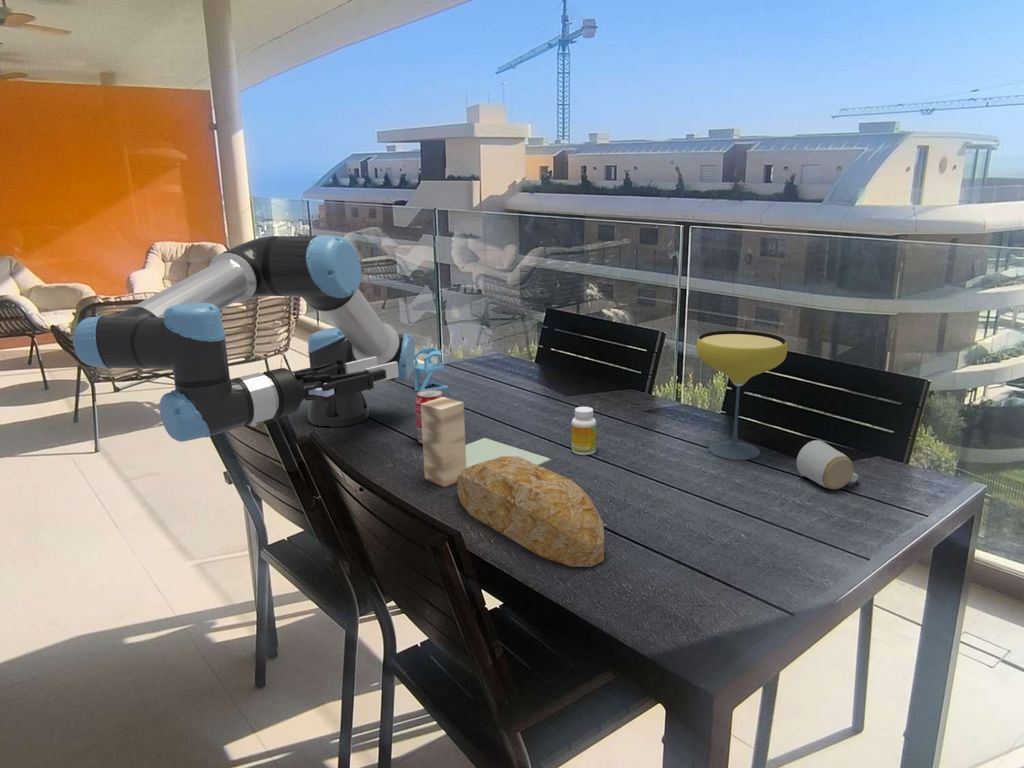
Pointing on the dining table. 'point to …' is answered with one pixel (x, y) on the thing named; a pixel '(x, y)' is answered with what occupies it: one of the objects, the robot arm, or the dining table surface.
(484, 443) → the green mat
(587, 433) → the supplement bottle
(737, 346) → the cocktail glass
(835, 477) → the ceramic mug
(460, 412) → the beech block
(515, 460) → the bread
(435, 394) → the soda can
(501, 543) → the dining table surface
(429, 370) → the chair
